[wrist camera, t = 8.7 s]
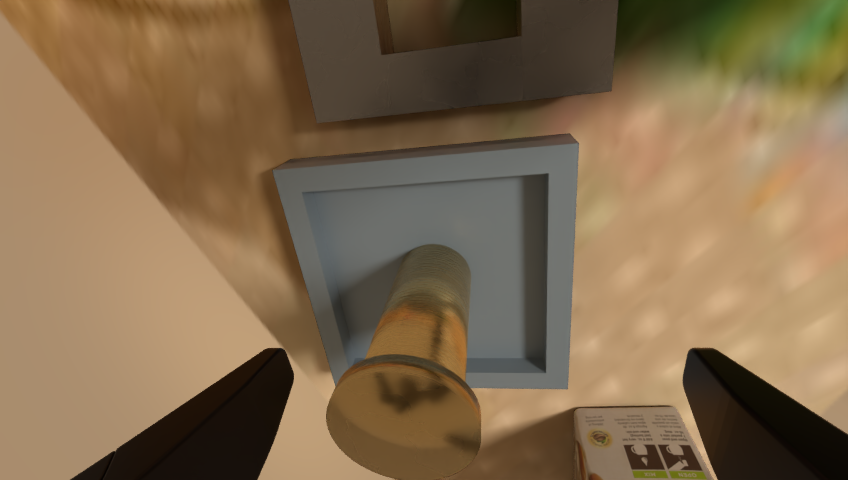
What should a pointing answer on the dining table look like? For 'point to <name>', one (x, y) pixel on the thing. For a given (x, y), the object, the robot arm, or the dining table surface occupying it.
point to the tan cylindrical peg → (413, 377)
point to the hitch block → (450, 59)
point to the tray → (450, 226)
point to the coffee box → (635, 445)
